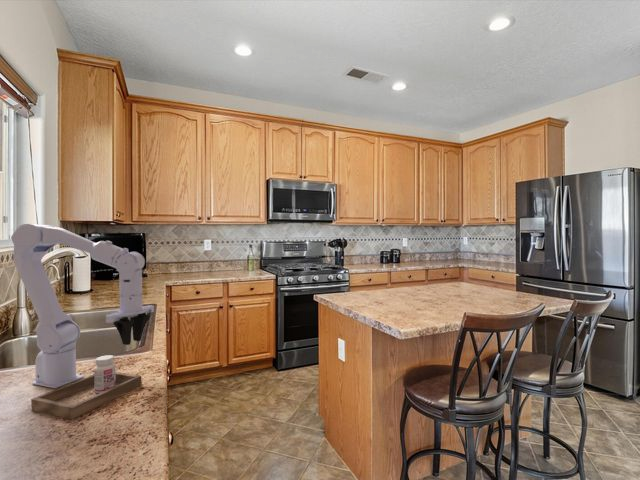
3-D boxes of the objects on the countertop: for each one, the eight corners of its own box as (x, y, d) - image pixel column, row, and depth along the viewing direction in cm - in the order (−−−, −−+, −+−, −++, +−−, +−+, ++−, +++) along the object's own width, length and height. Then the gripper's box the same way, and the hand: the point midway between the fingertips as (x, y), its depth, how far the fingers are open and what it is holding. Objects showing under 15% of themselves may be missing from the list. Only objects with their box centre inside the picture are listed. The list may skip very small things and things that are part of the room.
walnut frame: (31, 409, 81) (31, 399, 81) (104, 379, 99) (104, 370, 99) (72, 419, 77) (72, 408, 77) (141, 385, 94) (141, 376, 94)
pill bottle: (105, 394, 89) (105, 361, 89) (89, 392, 90) (89, 360, 90) (120, 386, 94) (119, 355, 93) (104, 385, 95) (104, 354, 94)
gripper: (119, 299, 91) (120, 351, 91) (161, 291, 105) (162, 336, 105) (99, 298, 94) (100, 349, 94) (143, 290, 107) (144, 334, 107)
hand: (132, 342), depth 100 cm, fingers open, 3 cm apart
